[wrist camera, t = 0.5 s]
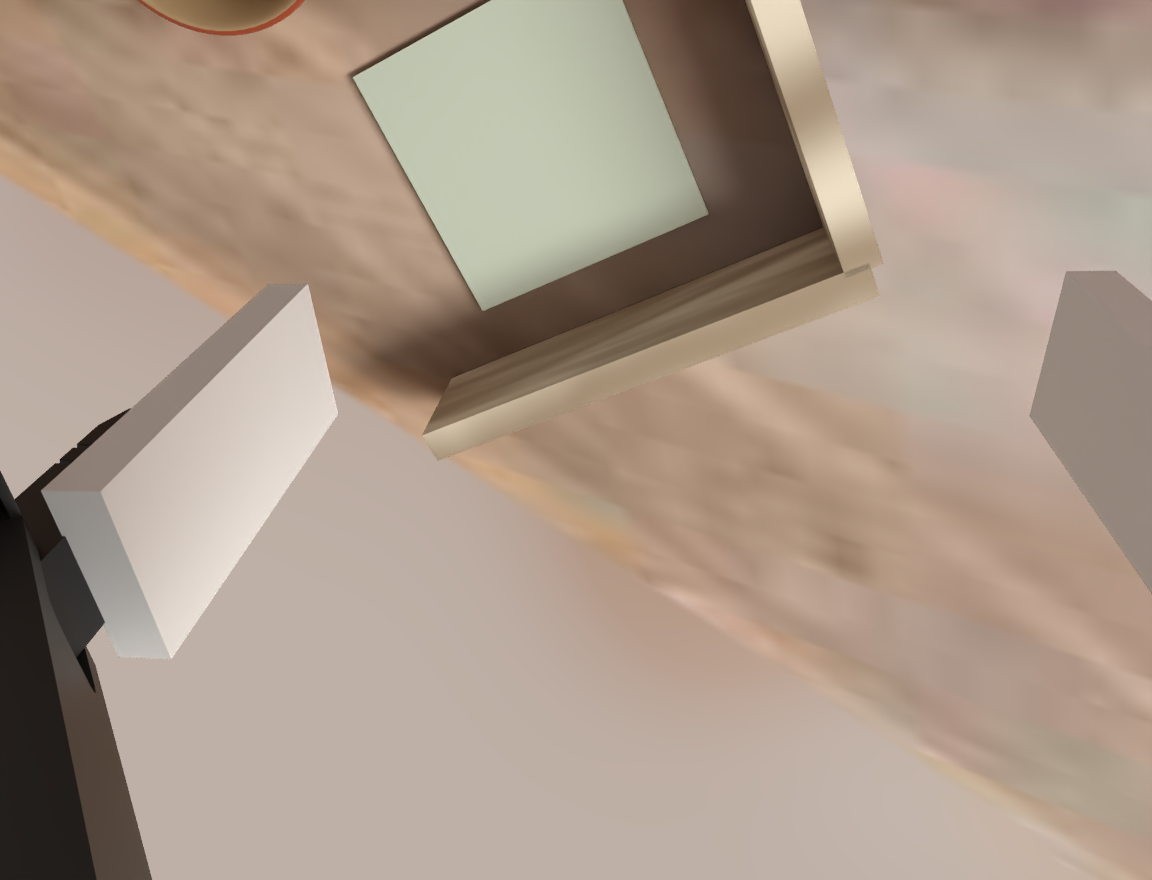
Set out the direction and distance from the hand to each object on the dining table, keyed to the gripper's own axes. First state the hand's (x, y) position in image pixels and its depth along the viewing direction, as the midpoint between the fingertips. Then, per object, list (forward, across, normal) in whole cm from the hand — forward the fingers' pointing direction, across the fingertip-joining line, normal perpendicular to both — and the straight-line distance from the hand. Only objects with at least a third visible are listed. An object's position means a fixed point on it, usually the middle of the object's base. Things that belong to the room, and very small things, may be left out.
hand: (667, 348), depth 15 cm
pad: (+26, -6, -2) cm, 26 cm away
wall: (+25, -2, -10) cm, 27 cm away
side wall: (+26, +5, 0) cm, 26 cm away
